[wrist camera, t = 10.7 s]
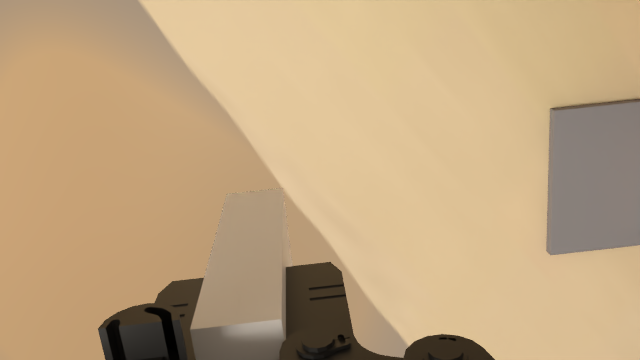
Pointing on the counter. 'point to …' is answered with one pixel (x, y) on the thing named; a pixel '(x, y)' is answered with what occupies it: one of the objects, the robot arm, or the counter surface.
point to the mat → (594, 177)
